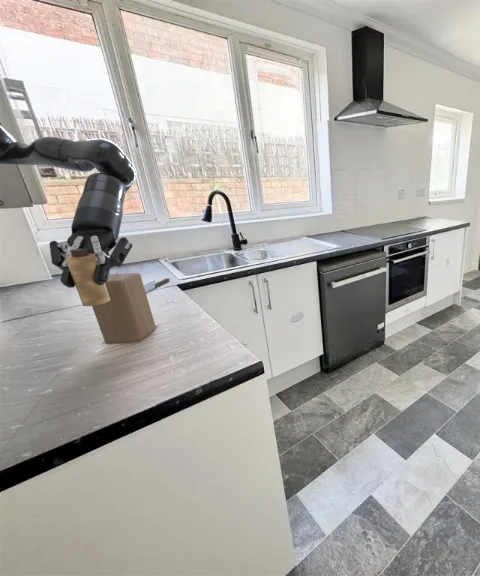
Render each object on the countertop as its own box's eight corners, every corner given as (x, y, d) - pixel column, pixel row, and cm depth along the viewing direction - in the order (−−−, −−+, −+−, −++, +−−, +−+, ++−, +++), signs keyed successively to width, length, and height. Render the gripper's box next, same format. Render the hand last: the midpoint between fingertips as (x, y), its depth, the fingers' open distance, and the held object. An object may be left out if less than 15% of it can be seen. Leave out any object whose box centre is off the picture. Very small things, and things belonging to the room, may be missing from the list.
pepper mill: (79, 307, 62) (59, 253, 58) (85, 300, 65) (67, 249, 62) (107, 303, 64) (89, 250, 60) (112, 297, 67) (95, 246, 64)
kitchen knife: (165, 274, 153) (118, 294, 125) (167, 274, 153) (121, 294, 125) (167, 282, 155) (121, 303, 126) (169, 282, 155) (124, 303, 126)
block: (104, 345, 94) (81, 283, 87) (125, 330, 103) (106, 273, 96) (140, 342, 95) (121, 281, 88) (157, 328, 104) (141, 271, 98)
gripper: (145, 225, 73) (135, 289, 66) (72, 228, 70) (53, 296, 63) (127, 203, 67) (114, 272, 60) (46, 206, 63) (22, 279, 56)
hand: (83, 284), depth 61 cm, fingers closed on pepper mill, 4 cm apart
